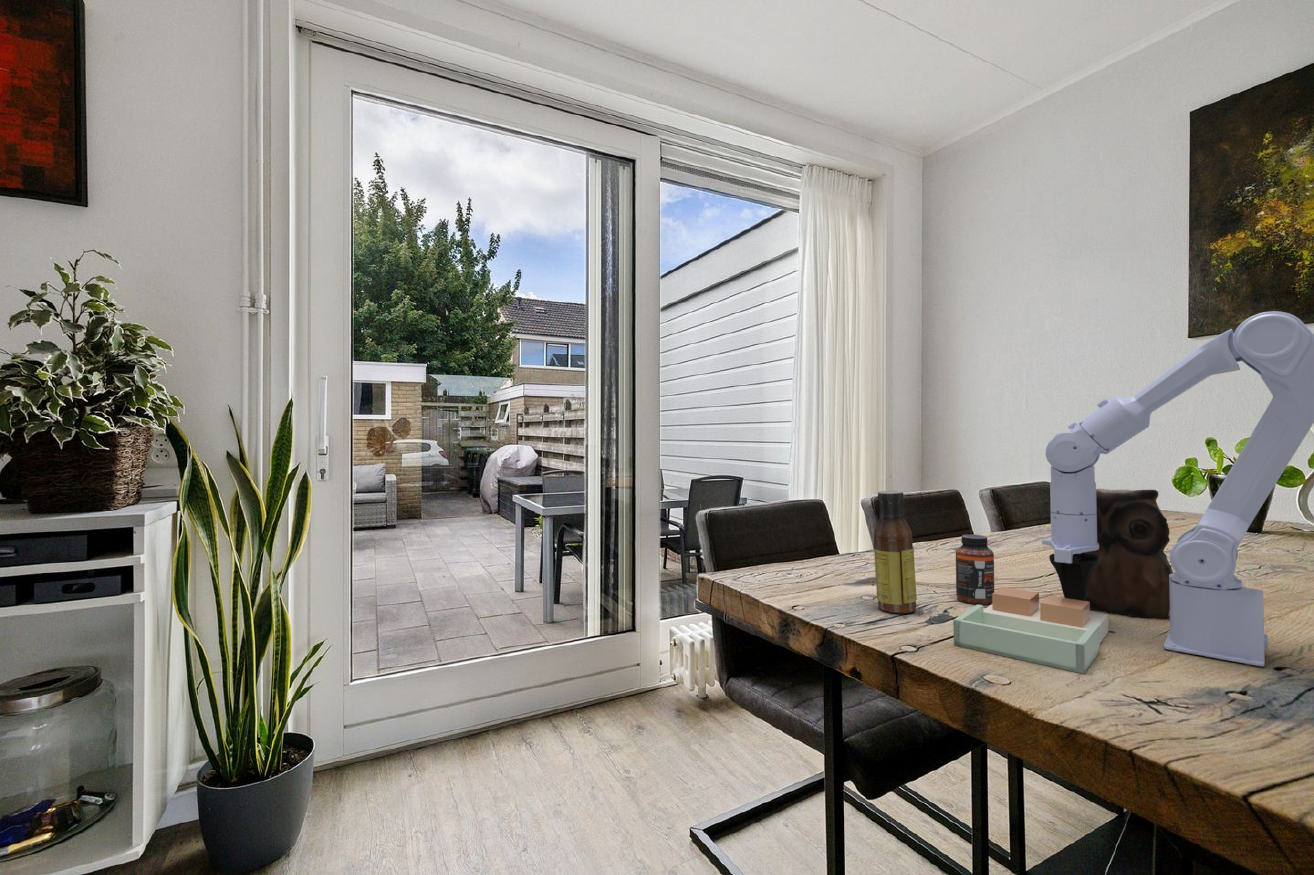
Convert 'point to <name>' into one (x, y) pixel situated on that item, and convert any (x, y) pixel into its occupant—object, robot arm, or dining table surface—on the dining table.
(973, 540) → the supplement bottle
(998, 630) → the tray
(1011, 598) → the tile
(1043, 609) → the tile
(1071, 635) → the board
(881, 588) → the sauce bottle
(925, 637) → the dining table surface
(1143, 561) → the owl
